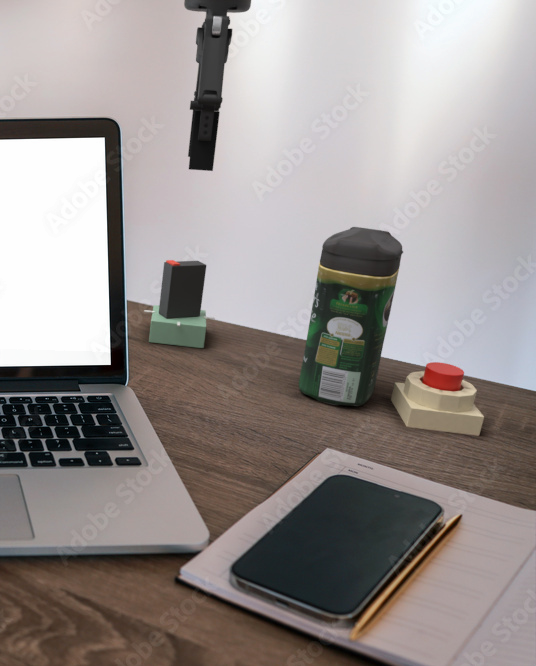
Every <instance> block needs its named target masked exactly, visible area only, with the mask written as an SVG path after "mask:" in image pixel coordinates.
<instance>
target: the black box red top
mask: <svg viewBox="0 0 536 666" xmlns="http://www.w3.org/2000/svg"><path fill="white" fill-rule="evenodd" d="M206 272H207V264H206V263H203V262H202V261H200V260H181V261H180V260H178V261H176V260H174V259H167V260H165V261H164V262H163V270H162V278H161V279H162V280H161V288H160V296H159V305H158V306H159V314H160V315H162V316H163V317H165V318H182V317H197V316H200V311H201V310H202V303H203V295H204V287H205V280H206Z"/></svg>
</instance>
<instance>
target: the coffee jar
mask: <svg viewBox="0 0 536 666" xmlns="http://www.w3.org/2000/svg"><path fill="white" fill-rule="evenodd" d="M403 254H404V250H403V245H402V243H401V242H400V241H399V240H398V239H397V238H396V237H394V236H393V235H392V234H391V233H390V231H388V230H387V231H386V230H383V229H382V230H380V229H375V228H368V227H359V226H352V227H350V228H348V229H346V230H343V231H339V232H336V233H334V234H332V235H331V236H328V238H326V239H325V240H324V242H323V244H322V249H321V254H320V257H319V258H320V259H319V262H318V268H317V269H318V270H317V275H316V282H315V287H314V295H313V300H312V305H311V311H310V318H309V323H308V324H309V325H308V328H307V334H306V335H307V336H306V341H305V347H304V353H303V358H302V362H301V368H300V372H299V379H298V389H299V391H300V392H301V393H302V394H304V395H307V396H308V397H310V398H312V399H314V400H316V401H318V402H319V403H320V402H321V403H324V404H327V405H332V406H336V407H337V406H350V407H361V406H362V405H364V404H366V403H367V402H368V401H369V399H371V397H372V395H373V393H374V391H375V389H376V388H375V387H376V383H377V379H378V375H379V374H378V373H379V368H380V362H381V359H382V353H383V347H384V343H385V338H386V333H387V330H388V324H389V320H390V315H391V310H392V305H393V300H394V296H395V291H396V286H397V282H398V281H397V280H398V276H399V271H400V267H401V259H402V255H403Z"/></svg>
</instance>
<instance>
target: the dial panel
mask: <svg viewBox="0 0 536 666" xmlns="http://www.w3.org/2000/svg"><path fill="white" fill-rule="evenodd" d="M143 312H144V313H150V314H151V317H150V318H151V319H150V327H149V335H148V336H149V337H148V343H152V344H162V345H169V346H179V347H187V348H196V349H204V348H205V341H206V333H207V320H215V319H216V317H215V316H213V317H212V316H207V311H206V310H205V309H201V311H200V316H197V317H182V318H165V317H163V316H162V315H160V314H159V305H157V304H153V306H152V310H150V309H149V310H147V309H144V310H143Z"/></svg>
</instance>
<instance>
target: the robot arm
mask: <svg viewBox="0 0 536 666" xmlns="http://www.w3.org/2000/svg"><path fill="white" fill-rule="evenodd" d="M183 1H184V2H183V6H184V8H185V9H186V10H187V11H191V12H197V13H199V12H204V13H205V18H204V21H203V22H202V24H201V27H197V29H196V35H195V45H196V46H197V47H196V55H195V62H196V63H197V64H198V67H197V76H196V83H195V84H196V85H195V91H194V92H193V100H190V104H189V110H190V111H192V116H191V126H190V135H189V144H188V153H187V157H188V158H189V162H188V170H189V171H191V170H193V171H206V172H208V171H209V172H210V171H211V172H213V171H214V163H215V155H216V147H217V137H218V129H219V120H220V114H221V113H220V109H221V108H222V103H223V96H222V95H223V83H224V75H225V64H226V63H227V62H228V57H229V50H230V45H231V43H232V37H233V28H229V26H230V25H231V17H230V15H228V13H230V14H237V13H238V14H239V13H246V12H248V11H249V10H250V9H251V6H252V0H183Z"/></svg>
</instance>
